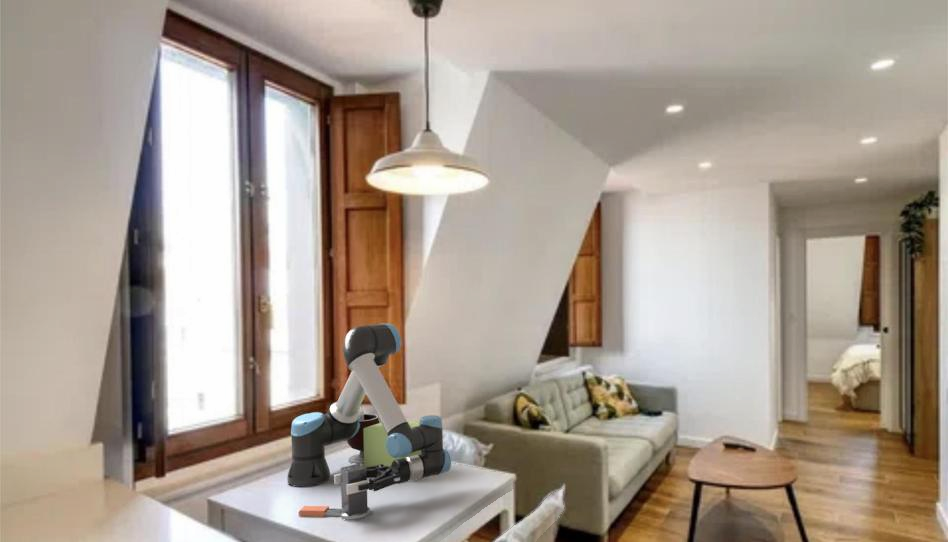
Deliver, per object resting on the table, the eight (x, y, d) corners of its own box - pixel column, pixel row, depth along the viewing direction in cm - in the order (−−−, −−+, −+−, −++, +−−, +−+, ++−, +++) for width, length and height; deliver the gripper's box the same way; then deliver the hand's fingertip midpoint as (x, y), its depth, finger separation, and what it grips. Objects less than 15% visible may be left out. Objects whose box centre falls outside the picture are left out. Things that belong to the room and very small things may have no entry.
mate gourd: (382, 462, 220) (381, 412, 221) (347, 466, 216) (346, 415, 217) (378, 451, 235) (376, 404, 235) (345, 455, 231) (343, 407, 231)
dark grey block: (348, 516, 164) (347, 472, 165) (341, 510, 169) (340, 467, 170) (367, 511, 167) (366, 468, 168) (360, 505, 172) (358, 463, 173)
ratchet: (373, 509, 172) (373, 496, 172) (364, 521, 163) (364, 507, 163) (306, 508, 175) (306, 495, 175) (294, 520, 166) (294, 506, 166)
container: (364, 473, 206) (363, 420, 207) (393, 461, 220) (391, 411, 221) (402, 482, 196) (401, 425, 197) (430, 468, 209) (429, 416, 210)
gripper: (423, 491, 169) (354, 508, 157) (392, 472, 188) (328, 486, 176) (422, 466, 169) (353, 482, 157) (391, 450, 188) (328, 463, 176)
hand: (340, 484), depth 166 cm, fingers open, 10 cm apart
